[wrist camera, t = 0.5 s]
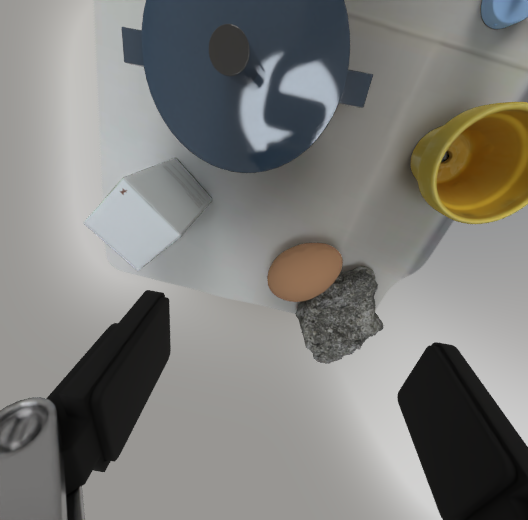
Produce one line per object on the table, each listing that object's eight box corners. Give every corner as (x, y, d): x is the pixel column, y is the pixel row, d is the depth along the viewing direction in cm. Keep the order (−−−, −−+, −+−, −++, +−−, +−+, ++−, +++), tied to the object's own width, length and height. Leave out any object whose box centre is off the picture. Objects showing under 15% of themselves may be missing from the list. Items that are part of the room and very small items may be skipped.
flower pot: (500, 99, 29) (589, 92, 20) (476, 194, 34) (540, 221, 25) (399, 112, 30) (442, 111, 22) (390, 201, 35) (422, 229, 26)
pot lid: (141, -101, 18) (72, -203, 12) (379, -57, 18) (421, -137, 12) (151, 153, 26) (112, 164, 20) (317, 185, 26) (324, 204, 20)
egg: (284, 322, 37) (359, 292, 34) (256, 287, 33) (337, 249, 30) (280, 287, 43) (343, 258, 40) (256, 253, 40) (323, 219, 37)
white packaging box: (141, 190, 37) (78, 221, 26) (176, 156, 35) (122, 174, 24) (179, 229, 40) (136, 273, 29) (214, 200, 37) (182, 236, 26)
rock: (366, 259, 36) (388, 282, 43) (288, 276, 44) (317, 293, 51) (377, 358, 31) (400, 367, 38) (285, 358, 38) (319, 365, 45)
